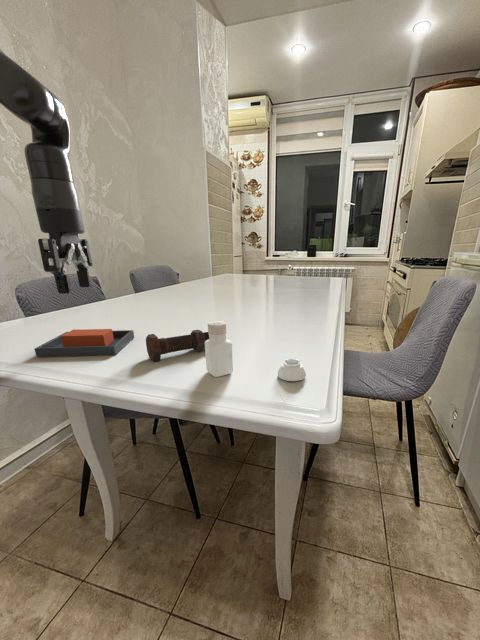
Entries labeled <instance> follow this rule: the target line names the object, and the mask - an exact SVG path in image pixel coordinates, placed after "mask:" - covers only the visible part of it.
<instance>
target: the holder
mask: <svg viewBox="0 0 480 640" xmlns="http://www.w3.org/2000/svg"><path fill="white" fill-rule="evenodd" d="M68 332H69V331H65V332H64V333H61V334H60V335H58V336H55V337H54V338H52V339H50V340H48V341H46V342H44V343H42V344H40V345H39V346H37V347H35V348H33V349H34V353H35V356H36V358H60V357H61V358H62V357H63V358H65V357H66V358H67V357H93V356H95V357H96V356H98V357H99V356H116V355H118V354H119V353H120V352H121V351H122V350H123V349H124V348H125V347H126V346H127V345H128V344H130V342H132V341H133V340H134V339H135V331H134V329H129V330H128V329H125V330H124V329H121V330H112V332H113V337H114V341H113V342H112V343H111V344H109V345H108V346H83V347H63V343H62V339H61V336H62V335H64V334H66V333H68Z"/></svg>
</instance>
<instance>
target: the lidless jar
mask: <svg viewBox="0 0 480 640" xmlns="http://www.w3.org/2000/svg"><path fill="white" fill-rule="evenodd" d="M277 377H278V378H279V379H281V380H284V381H288V382H298V381H302V380H304V379H305V378H306V377H307V373H306V370H305V368H304V366H303V365H302V363H301V360H299V359H297V358H286V359H284V360H283V362H282V364H280V366H279V368H278V370H277Z"/></svg>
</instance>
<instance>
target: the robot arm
mask: <svg viewBox="0 0 480 640" xmlns="http://www.w3.org/2000/svg"><path fill="white" fill-rule="evenodd" d="M0 105H1V106H2V107H4V108H5V109H7V111H9V113H11V114H12V115H14V116H15V117H16V118H18V119H19V120H20V121H22V122H23V123H25V124H27V125H29V126H30V131H31V142H29V143H27V144H25V146H24V151H23V153H24V158H25V163H26V167H27V171H28V176H29V179H30V186H31V195H32V199H33V203H34V208H35V213H36V216H37V221H38V224H39V228H40V232H41V233H43V234H48V238H38V239H37V243H38V247H39V253H40V257H41V262H42V268H43V271H44V272H46V273H50V274H51V275H53V277H54V281H55V285H56V289H57V292H58V293H59V294H62V295H63V294H65V295H66V294H71V293H72V288H71V285H70V278H69V275H68V268H69V266H70V265H71V264H72V265H73V266H74V268H75V270H76V275H77V280H78V285H79V287H80V288H90V287H91V286H92V283H91V280H90V279H91V278H90V273H89V270H90V267H93V259H92V255H91V251H90V246H89V245H90V244H89V241H88V239H87V238H79V235H82V234H84V233H85V227H84V226H85V225H84V221H83V216H82V215H83V214H82V210H81V206H80V199H79V195H78V192H77V189H76V186H75V180H74V176H73V170H72V165H71V160H70V151H71V131H70V130H71V129H70V122H69V117H68V114H67V111H66V109H65V106H64V104H63V103H62V101H61V100H60V98H59V97H58V96H57V95H56V94H54V93H53V92H52V91H51V90H49V89H48V88H47V86H45V85H44V84H43V83H42V82H40V80H38V79H37V78H36V77H34V76H33V75H32V74H30V73H29V71H27V70H25V69H24V68H23V67H22V66H21V65H19V64H18V63H17V62H16V61H14V60H13V59H11V57H9V56H8V55H7V54H6V53H4V51H3V50H2V49H1V48H0ZM50 263H51V264H50Z"/></svg>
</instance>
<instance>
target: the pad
mask: <svg viewBox="0 0 480 640" xmlns="http://www.w3.org/2000/svg"><path fill="white" fill-rule="evenodd" d="M112 331H113V328H88V329H87V328H86V329H84V328H83V329H71V330H70V331H67V332H68V333H66V334H64V335H62V336H61V339H62V343H63V347H83V346H108V345H109V344H111V343H112V342H113V341H114V337H113V332H112Z"/></svg>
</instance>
